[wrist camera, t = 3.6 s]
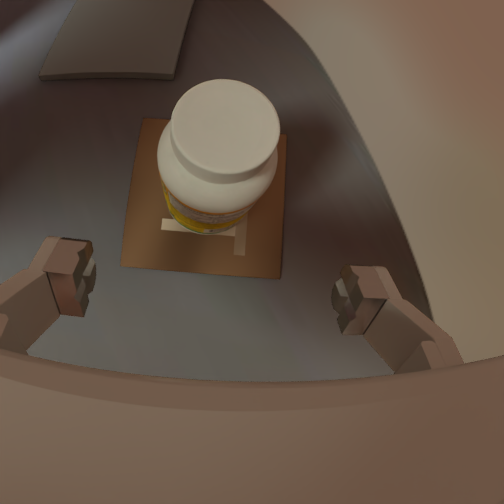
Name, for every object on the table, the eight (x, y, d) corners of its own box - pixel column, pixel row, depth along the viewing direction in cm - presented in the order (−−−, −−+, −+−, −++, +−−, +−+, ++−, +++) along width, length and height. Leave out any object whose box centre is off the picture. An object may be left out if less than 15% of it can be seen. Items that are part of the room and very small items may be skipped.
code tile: (120, 266, 19) (120, 265, 19) (143, 118, 20) (143, 117, 20) (279, 279, 21) (280, 279, 21) (286, 135, 22) (286, 134, 22)
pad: (41, 81, 19) (38, 75, 18) (85, -6, 20) (84, -11, 19) (173, 80, 21) (173, 73, 20) (197, -7, 22) (197, -13, 21)
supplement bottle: (225, 251, 20) (259, 223, 11) (149, 211, 19) (120, 151, 10) (263, 178, 21) (319, 106, 12) (191, 141, 20) (199, 47, 11)
